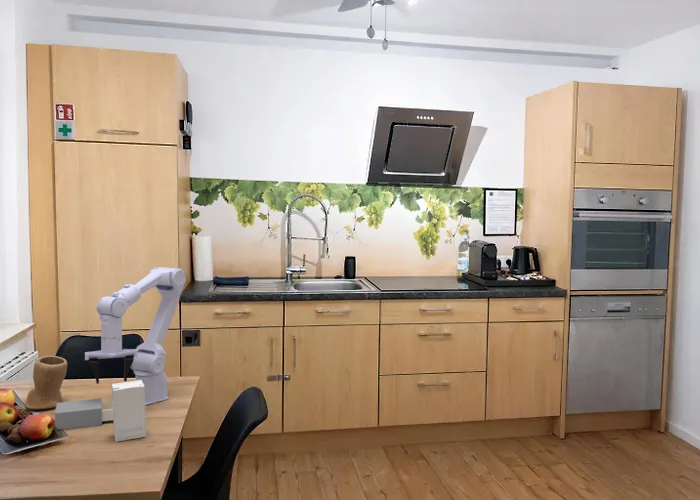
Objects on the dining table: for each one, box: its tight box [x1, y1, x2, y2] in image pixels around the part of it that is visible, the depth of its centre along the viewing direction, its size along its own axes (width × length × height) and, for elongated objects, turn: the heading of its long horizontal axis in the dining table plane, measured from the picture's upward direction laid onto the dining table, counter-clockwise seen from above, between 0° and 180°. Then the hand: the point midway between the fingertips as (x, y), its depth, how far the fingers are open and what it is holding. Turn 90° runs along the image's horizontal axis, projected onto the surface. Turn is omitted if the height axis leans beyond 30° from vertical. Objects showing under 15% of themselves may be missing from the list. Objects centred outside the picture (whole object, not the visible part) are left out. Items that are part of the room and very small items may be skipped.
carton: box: [54, 398, 103, 431], centre depth 173 cm, size 12×9×5 cm
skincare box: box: [111, 379, 147, 442], centre depth 163 cm, size 8×6×15 cm
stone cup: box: [25, 355, 68, 410], centre depth 187 cm, size 15×12×15 cm
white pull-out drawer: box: [101, 401, 113, 422], centre depth 176 cm, size 13×9×9 cm
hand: (111, 381), depth 178 cm, fingers open, 7 cm apart
